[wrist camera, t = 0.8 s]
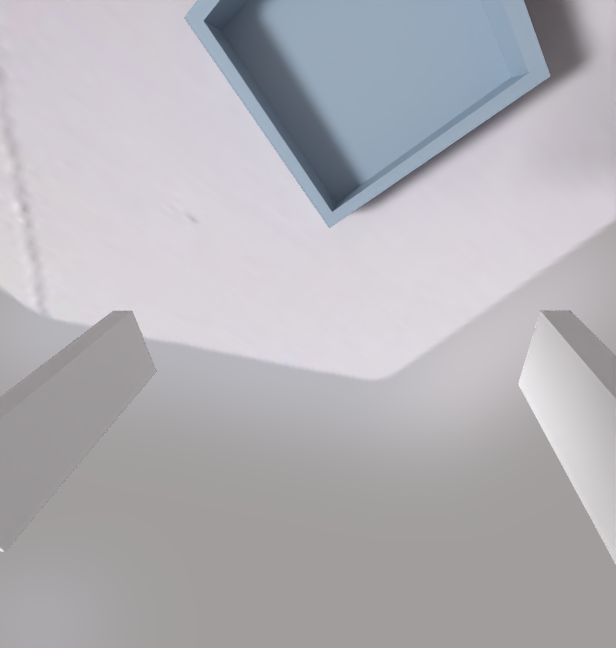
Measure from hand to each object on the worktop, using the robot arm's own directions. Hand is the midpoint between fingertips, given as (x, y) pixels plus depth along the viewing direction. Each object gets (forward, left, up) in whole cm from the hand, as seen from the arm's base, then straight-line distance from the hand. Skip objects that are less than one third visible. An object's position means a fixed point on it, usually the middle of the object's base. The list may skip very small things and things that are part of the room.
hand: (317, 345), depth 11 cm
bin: (-8, +6, -25) cm, 27 cm away
